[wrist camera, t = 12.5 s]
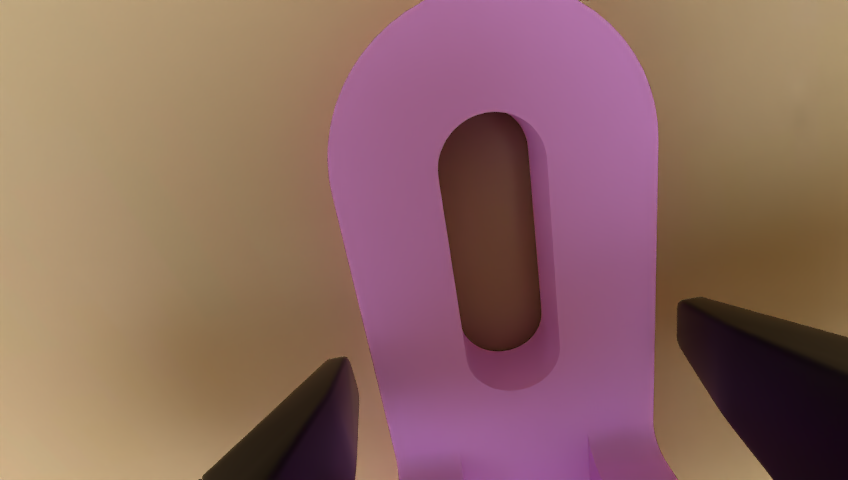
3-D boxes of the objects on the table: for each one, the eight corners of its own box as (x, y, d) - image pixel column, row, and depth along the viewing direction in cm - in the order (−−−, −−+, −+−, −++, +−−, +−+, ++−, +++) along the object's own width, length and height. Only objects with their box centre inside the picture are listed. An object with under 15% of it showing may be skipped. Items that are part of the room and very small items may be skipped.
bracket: (625, 506, 12) (866, 1003, 6) (426, 531, 12) (435, 1036, 6) (620, -29, 8) (1733, -618, 1) (310, 28, 8) (-181, -202, 1)
